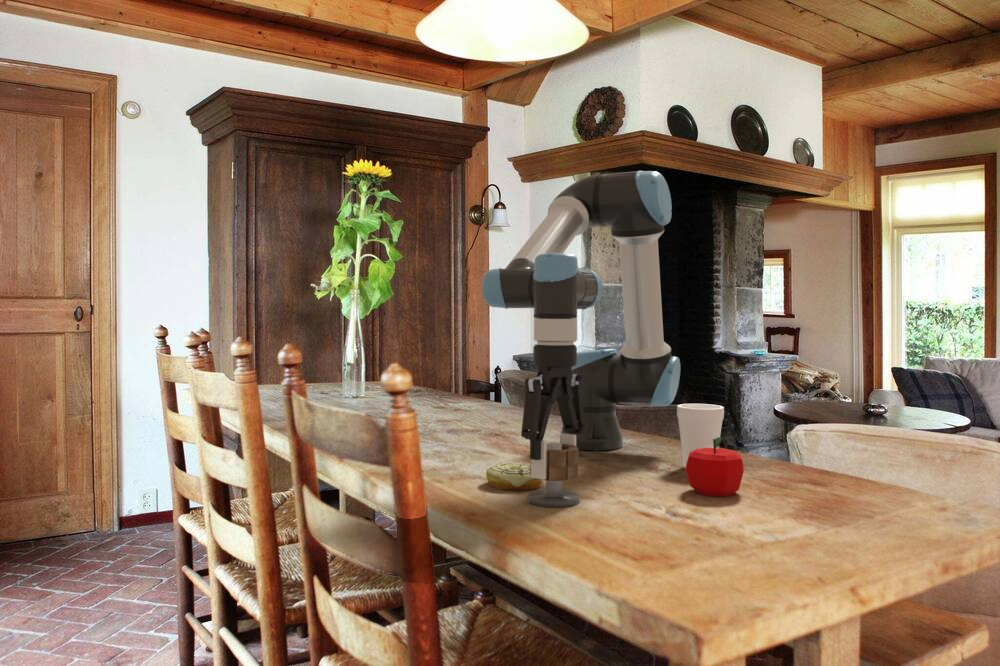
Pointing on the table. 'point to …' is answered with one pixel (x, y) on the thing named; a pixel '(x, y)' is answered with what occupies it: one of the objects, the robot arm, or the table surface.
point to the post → (553, 491)
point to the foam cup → (698, 426)
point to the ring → (561, 463)
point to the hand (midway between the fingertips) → (553, 474)
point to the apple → (715, 470)
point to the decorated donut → (511, 476)
